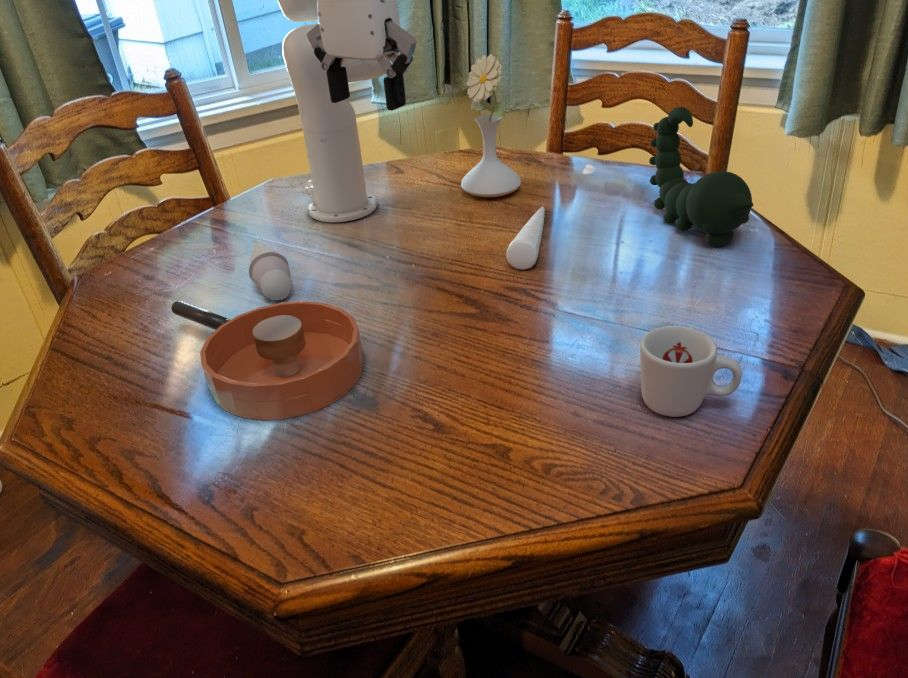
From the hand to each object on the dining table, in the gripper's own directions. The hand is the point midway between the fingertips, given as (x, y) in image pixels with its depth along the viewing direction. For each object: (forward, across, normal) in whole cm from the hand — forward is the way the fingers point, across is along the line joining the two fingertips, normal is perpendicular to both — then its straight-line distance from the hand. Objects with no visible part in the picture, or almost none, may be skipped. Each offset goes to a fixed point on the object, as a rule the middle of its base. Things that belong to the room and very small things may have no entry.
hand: (368, 103), depth 97 cm
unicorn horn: (+26, -12, -22) cm, 36 cm away
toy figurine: (+26, -34, -38) cm, 57 cm away
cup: (+26, -49, +8) cm, 56 cm away
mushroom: (+26, -4, +26) cm, 37 cm away
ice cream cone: (+26, +16, +10) cm, 33 cm away
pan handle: (+23, +11, +26) cm, 37 cm away
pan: (+26, -4, +26) cm, 37 cm away
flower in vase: (+26, +5, -37) cm, 46 cm away
